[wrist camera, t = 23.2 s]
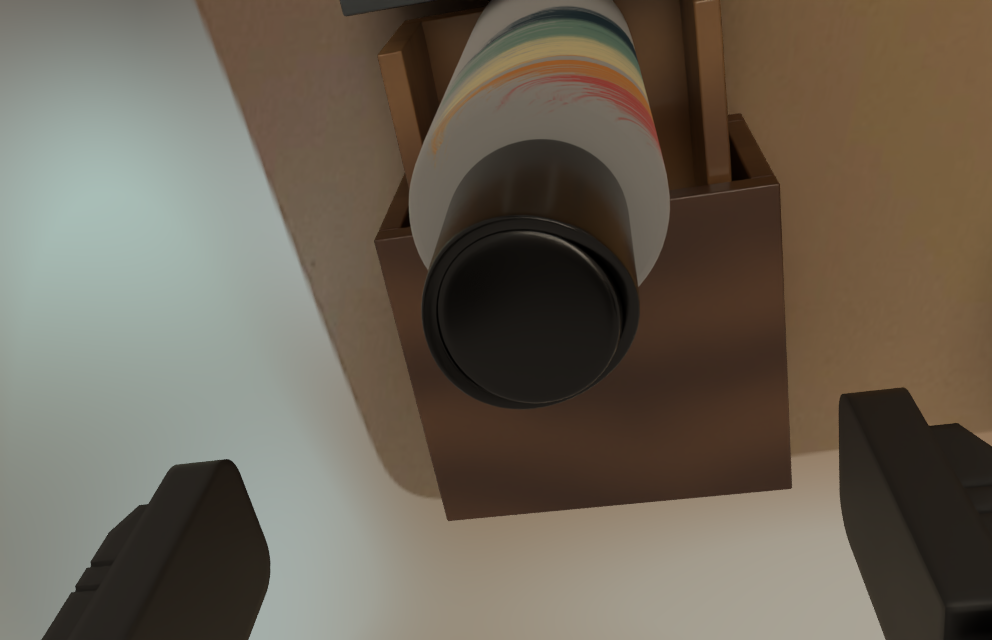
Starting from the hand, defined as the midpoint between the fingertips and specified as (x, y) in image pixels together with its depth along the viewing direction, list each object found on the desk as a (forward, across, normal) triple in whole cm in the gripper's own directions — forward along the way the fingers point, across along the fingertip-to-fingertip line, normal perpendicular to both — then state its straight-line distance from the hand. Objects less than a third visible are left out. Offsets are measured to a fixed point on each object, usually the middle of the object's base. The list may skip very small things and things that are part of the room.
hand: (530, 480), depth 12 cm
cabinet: (+26, 0, +10) cm, 28 cm away
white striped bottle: (+24, 0, 0) cm, 24 cm away
